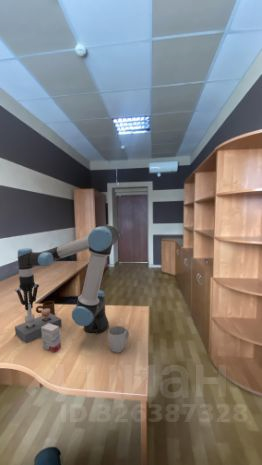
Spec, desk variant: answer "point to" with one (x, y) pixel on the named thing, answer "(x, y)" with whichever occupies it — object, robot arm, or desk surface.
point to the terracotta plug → (46, 314)
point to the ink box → (51, 337)
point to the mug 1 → (47, 305)
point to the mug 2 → (117, 338)
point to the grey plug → (29, 320)
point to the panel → (35, 328)
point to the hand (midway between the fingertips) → (29, 314)
